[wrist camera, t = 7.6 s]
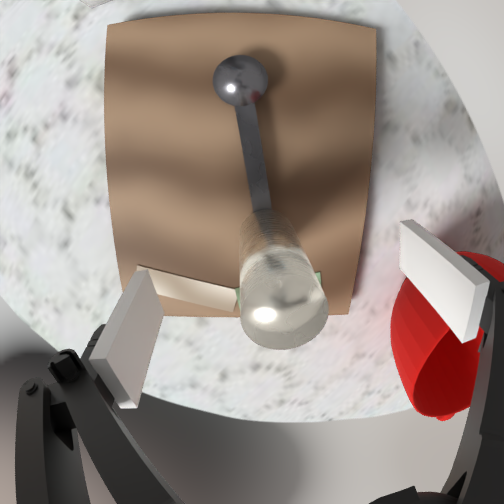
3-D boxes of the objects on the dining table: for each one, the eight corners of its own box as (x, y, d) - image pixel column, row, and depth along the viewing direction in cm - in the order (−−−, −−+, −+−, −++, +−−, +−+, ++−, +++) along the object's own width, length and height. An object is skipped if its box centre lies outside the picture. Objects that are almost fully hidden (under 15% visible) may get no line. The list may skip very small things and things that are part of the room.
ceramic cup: (360, 383, 31) (389, 457, 22) (366, 237, 24) (429, 306, 15) (458, 353, 31) (498, 410, 22) (485, 217, 24) (558, 262, 15)
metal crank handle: (206, 64, 17) (179, 18, 8) (264, 54, 17) (288, 2, 8) (250, 292, 24) (258, 394, 15) (298, 284, 23) (330, 381, 15)
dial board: (115, 29, 17) (106, 24, 15) (367, 33, 18) (376, 28, 16) (132, 304, 26) (126, 314, 24) (343, 304, 27) (348, 315, 25)
